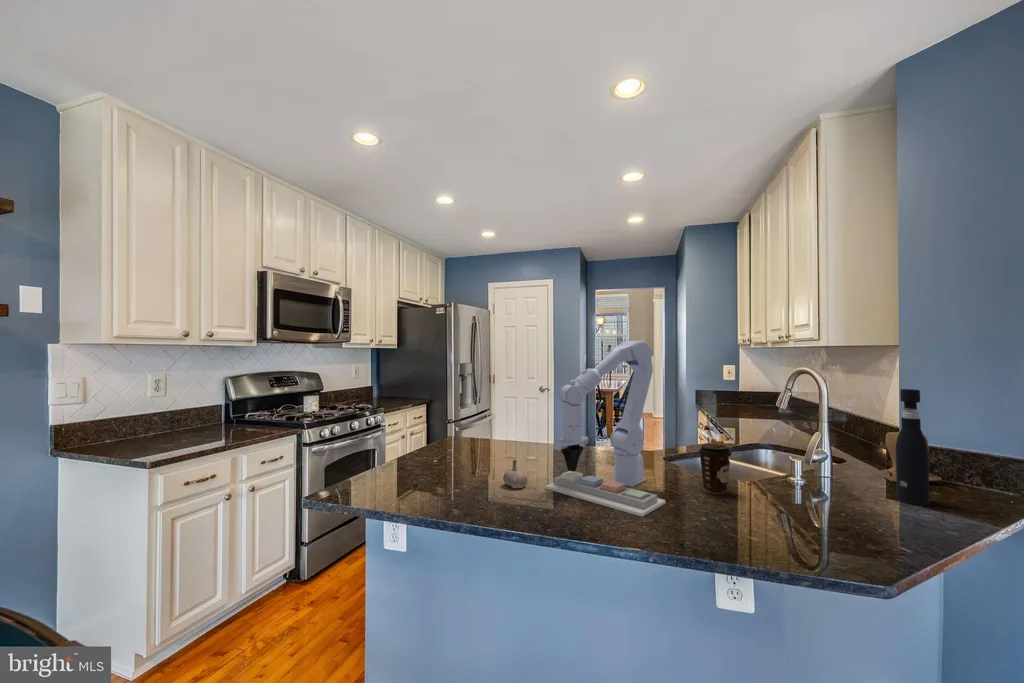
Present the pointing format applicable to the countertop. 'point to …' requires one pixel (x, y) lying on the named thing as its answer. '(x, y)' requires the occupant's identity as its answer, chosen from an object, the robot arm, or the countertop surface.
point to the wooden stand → (891, 446)
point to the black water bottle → (912, 454)
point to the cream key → (571, 476)
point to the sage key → (636, 494)
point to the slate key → (591, 481)
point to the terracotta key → (613, 486)
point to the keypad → (607, 497)
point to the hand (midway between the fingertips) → (571, 470)
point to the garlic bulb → (515, 477)
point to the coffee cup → (715, 468)
